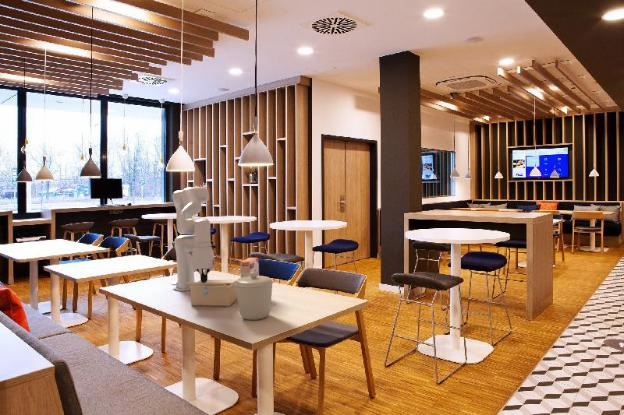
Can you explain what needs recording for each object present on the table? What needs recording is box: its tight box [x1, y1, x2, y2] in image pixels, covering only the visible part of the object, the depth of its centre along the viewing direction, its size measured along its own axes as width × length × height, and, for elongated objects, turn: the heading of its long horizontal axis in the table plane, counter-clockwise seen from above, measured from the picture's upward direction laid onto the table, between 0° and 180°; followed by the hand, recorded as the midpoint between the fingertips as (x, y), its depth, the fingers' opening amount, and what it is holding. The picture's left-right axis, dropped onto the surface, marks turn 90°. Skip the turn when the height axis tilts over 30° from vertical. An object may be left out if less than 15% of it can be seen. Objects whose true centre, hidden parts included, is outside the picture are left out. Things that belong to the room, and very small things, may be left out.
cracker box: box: [239, 257, 260, 278], centre depth 241 cm, size 14×6×21 cm, turn 168°
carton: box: [190, 279, 238, 308], centre depth 233 cm, size 20×13×11 cm, turn 80°
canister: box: [234, 272, 275, 321], centre depth 207 cm, size 18×18×21 cm
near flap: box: [186, 281, 228, 295], centre depth 223 cm, size 19×6×6 cm, turn 80°
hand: (204, 282), depth 221 cm, fingers closed
